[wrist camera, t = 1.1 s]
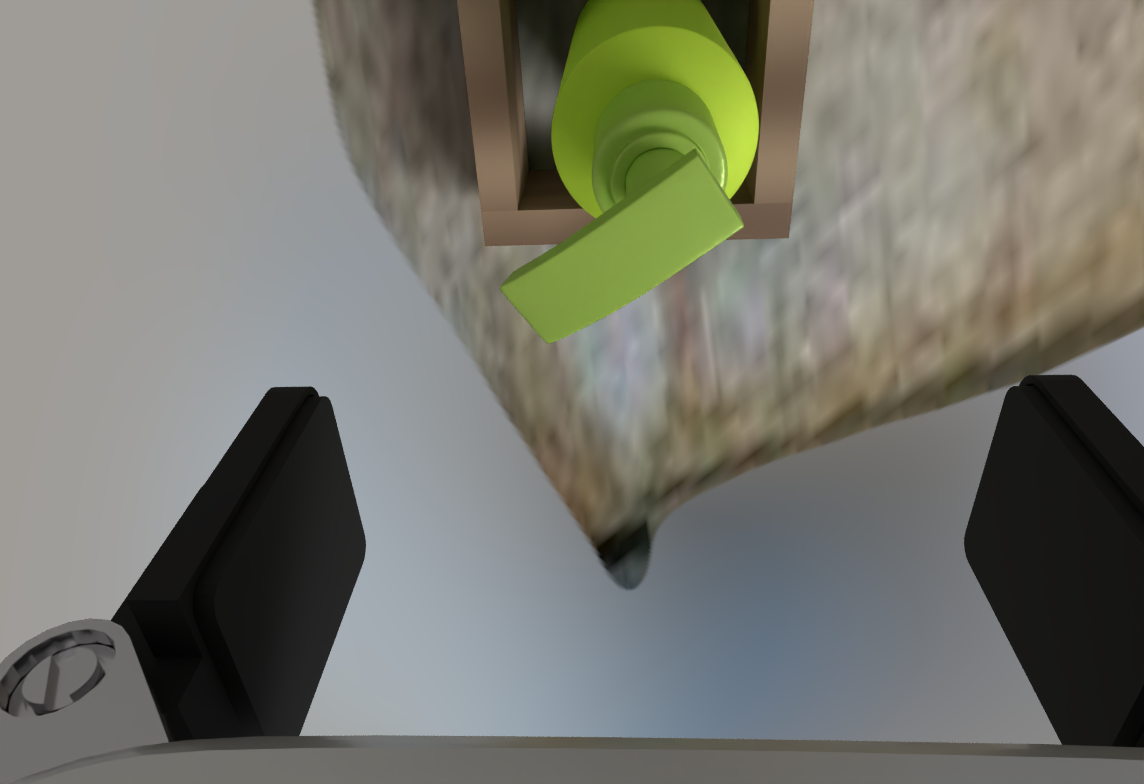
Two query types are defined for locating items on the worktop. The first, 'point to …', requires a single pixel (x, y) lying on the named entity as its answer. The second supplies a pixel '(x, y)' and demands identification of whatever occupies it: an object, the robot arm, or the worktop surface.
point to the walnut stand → (539, 198)
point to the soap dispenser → (640, 158)
